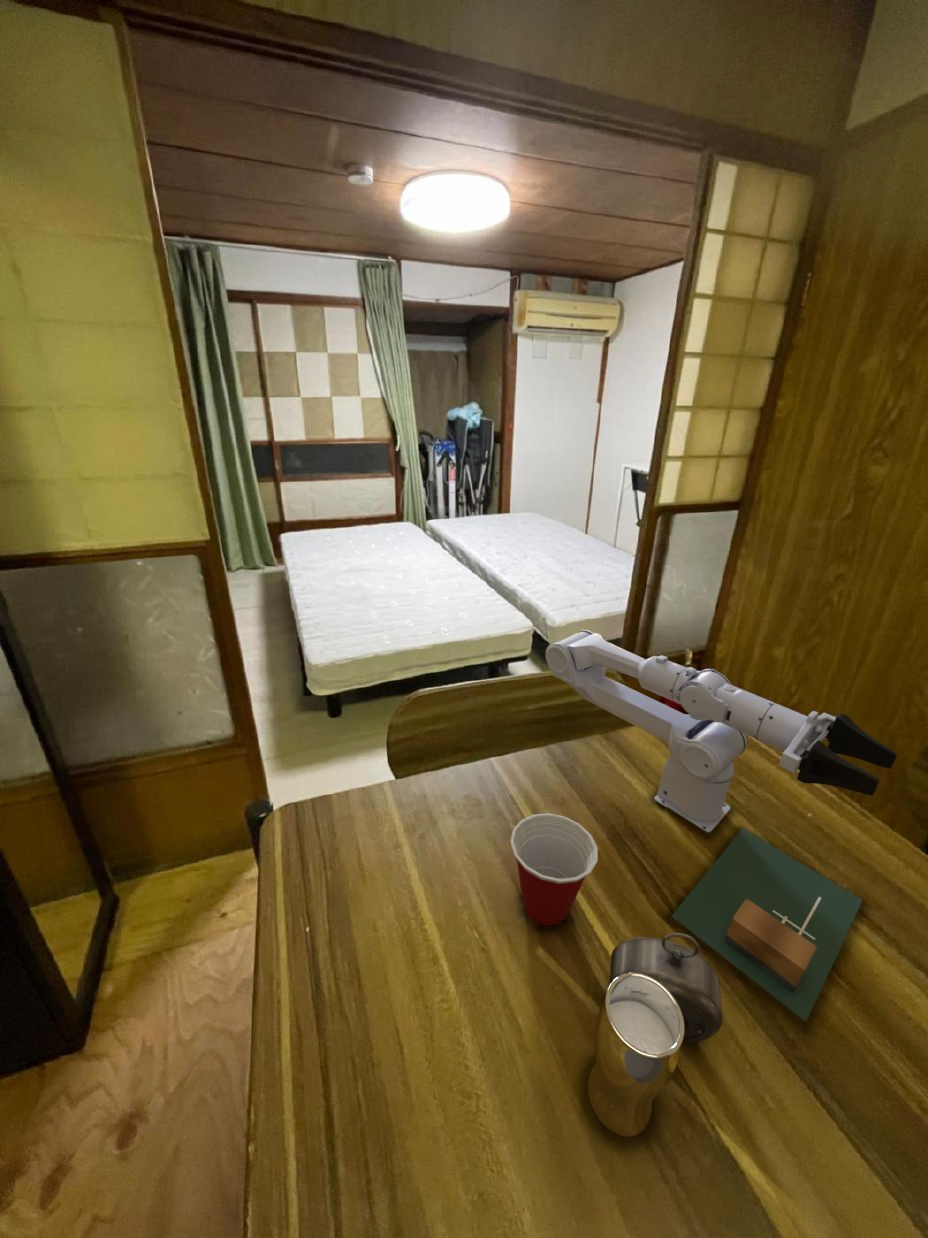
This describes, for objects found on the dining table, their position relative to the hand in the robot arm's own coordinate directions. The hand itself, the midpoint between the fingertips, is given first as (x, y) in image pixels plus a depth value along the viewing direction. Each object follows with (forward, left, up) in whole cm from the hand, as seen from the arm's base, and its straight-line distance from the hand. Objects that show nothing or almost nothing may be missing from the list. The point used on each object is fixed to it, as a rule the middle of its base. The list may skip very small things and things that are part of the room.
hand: (885, 774), depth 62 cm
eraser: (-2, -16, -21) cm, 27 cm away
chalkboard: (-4, -9, -21) cm, 24 cm away
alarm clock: (-7, -33, -22) cm, 40 cm away
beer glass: (-6, -41, -22) cm, 47 cm away
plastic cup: (-24, -31, -22) cm, 45 cm away
